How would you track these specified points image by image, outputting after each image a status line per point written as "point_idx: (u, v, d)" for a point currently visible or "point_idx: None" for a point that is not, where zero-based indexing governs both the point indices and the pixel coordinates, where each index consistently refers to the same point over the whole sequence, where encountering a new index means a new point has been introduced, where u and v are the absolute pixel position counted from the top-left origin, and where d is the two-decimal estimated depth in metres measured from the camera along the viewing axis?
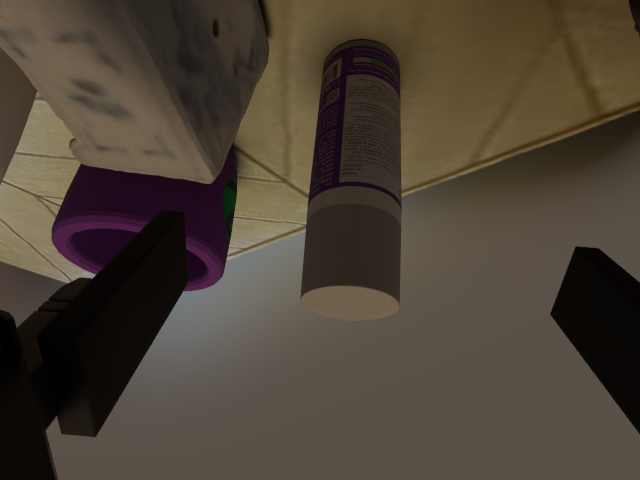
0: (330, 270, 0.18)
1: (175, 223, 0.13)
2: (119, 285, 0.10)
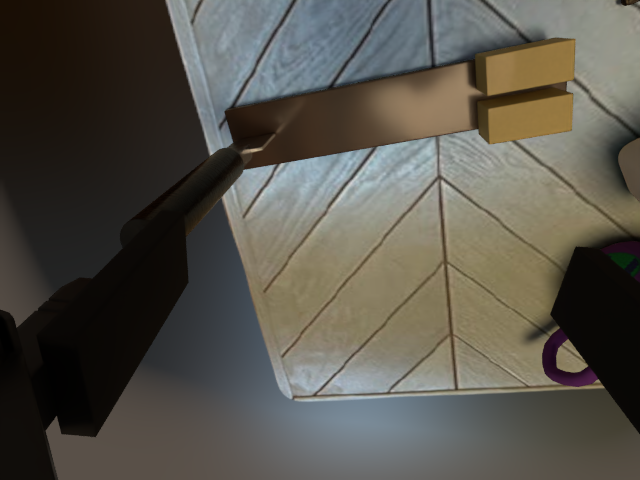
0: None
1: (175, 223, 0.13)
2: (119, 285, 0.10)
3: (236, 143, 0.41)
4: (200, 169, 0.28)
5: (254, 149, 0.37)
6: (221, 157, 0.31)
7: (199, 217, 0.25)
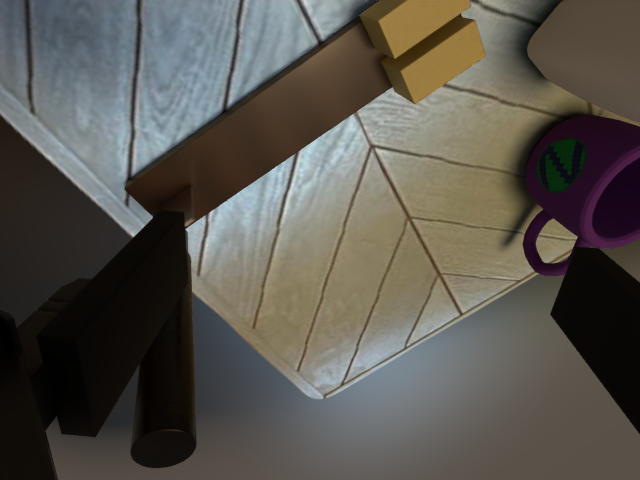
0: None
1: (175, 223, 0.13)
2: (119, 285, 0.10)
3: None
4: None
5: (185, 223, 0.32)
6: None
7: (193, 366, 0.22)
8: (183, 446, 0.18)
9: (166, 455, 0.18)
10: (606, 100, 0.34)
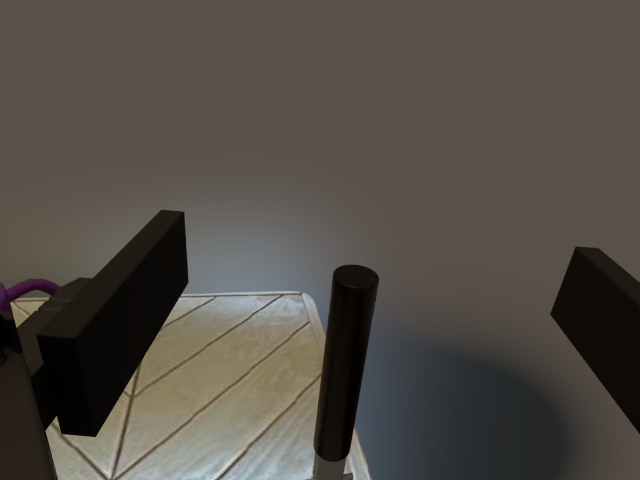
0: None
1: (175, 223, 0.13)
2: (119, 285, 0.10)
3: None
4: (341, 400, 0.27)
5: None
6: (329, 434, 0.28)
7: None
8: (343, 271, 0.25)
9: (357, 272, 0.25)
10: None
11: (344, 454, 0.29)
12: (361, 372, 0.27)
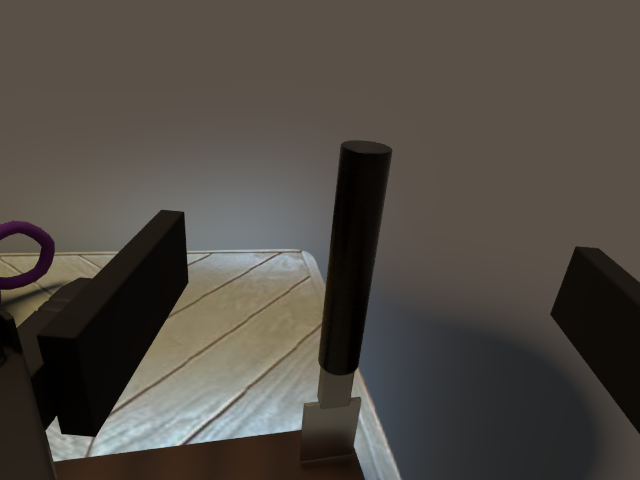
0: None
1: (175, 223, 0.13)
2: (119, 285, 0.10)
3: (347, 438, 0.31)
4: (349, 297, 0.24)
5: (314, 404, 0.29)
6: (336, 341, 0.26)
7: None
8: (352, 143, 0.22)
9: (368, 144, 0.22)
10: None
11: (352, 367, 0.27)
12: (372, 265, 0.24)
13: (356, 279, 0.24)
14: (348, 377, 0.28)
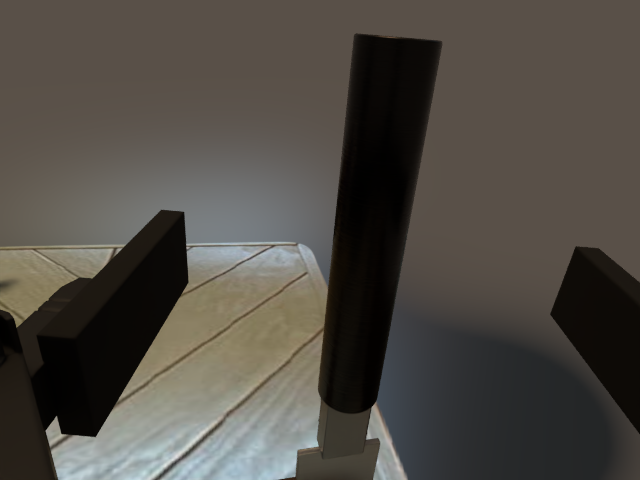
0: None
1: (175, 223, 0.13)
2: (119, 285, 0.10)
3: None
4: (367, 296, 0.15)
5: (312, 451, 0.20)
6: (346, 364, 0.17)
7: (341, 167, 0.15)
8: None
9: None
10: None
11: (370, 401, 0.18)
12: (403, 244, 0.15)
13: (378, 266, 0.15)
14: (362, 414, 0.19)
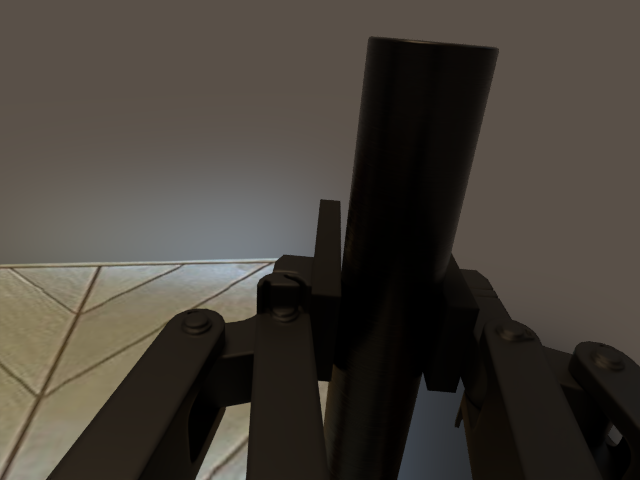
0: None
1: None
2: (340, 258, 0.12)
3: None
4: (383, 392, 0.11)
5: None
6: (353, 471, 0.13)
7: None
8: (395, 38, 0.09)
9: None
10: None
11: None
12: (432, 323, 0.11)
13: (399, 355, 0.11)
14: None
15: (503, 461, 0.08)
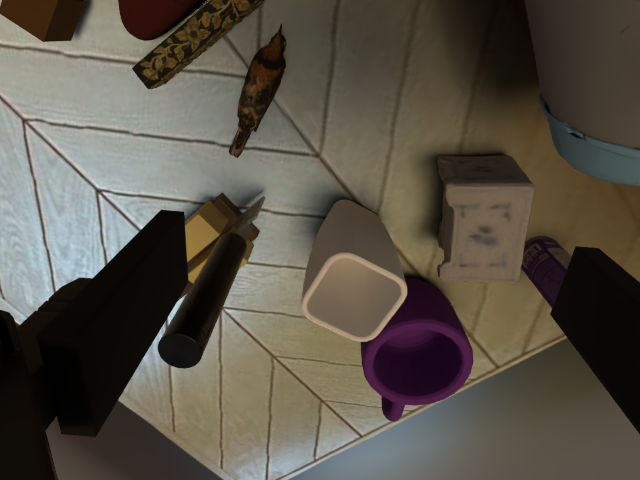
0: None
1: (175, 223, 0.13)
2: (119, 285, 0.10)
3: (237, 221, 0.45)
4: (205, 266, 0.32)
5: (250, 220, 0.41)
6: (221, 245, 0.35)
7: (217, 307, 0.29)
8: (192, 351, 0.25)
9: (182, 357, 0.26)
10: None
11: None
12: None
13: (198, 275, 0.31)
14: None
15: None
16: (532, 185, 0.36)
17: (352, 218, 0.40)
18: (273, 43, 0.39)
